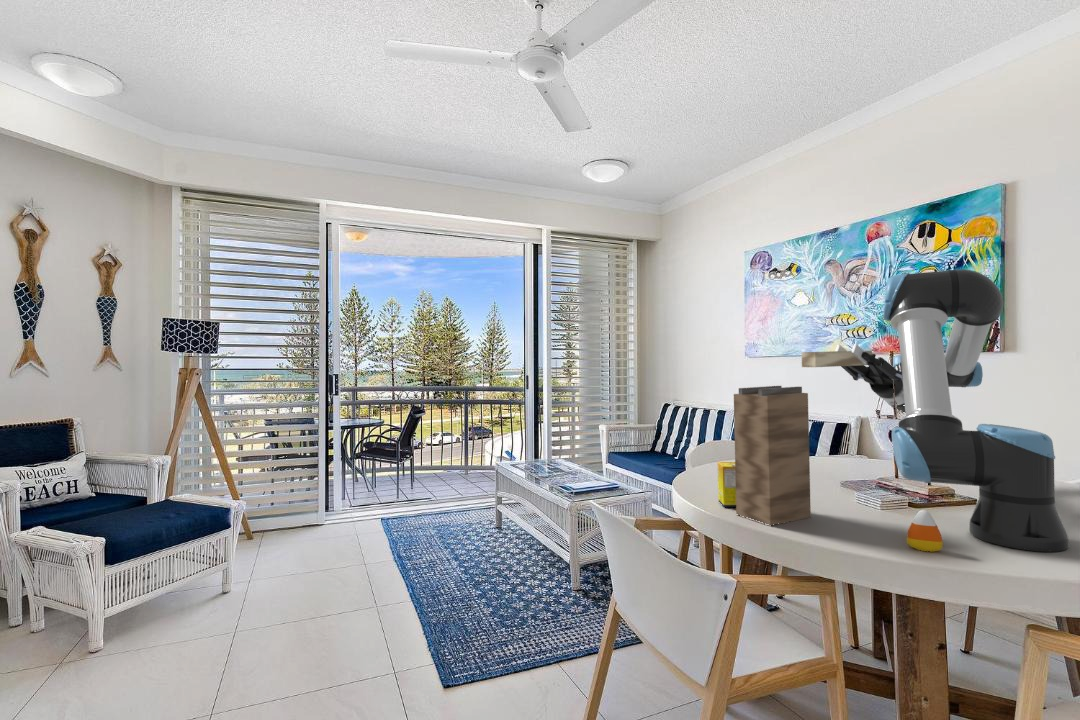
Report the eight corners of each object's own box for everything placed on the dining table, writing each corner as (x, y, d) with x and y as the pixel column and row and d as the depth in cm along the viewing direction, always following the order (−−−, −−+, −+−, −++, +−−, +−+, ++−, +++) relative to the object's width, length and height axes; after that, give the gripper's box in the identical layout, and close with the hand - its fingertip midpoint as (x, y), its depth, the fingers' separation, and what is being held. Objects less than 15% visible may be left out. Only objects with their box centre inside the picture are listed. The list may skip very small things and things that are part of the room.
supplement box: (740, 501, 141) (739, 461, 141) (747, 508, 135) (746, 466, 135) (717, 501, 142) (717, 461, 142) (723, 508, 136) (722, 466, 136)
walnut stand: (810, 516, 127) (807, 386, 127) (770, 526, 120) (767, 389, 120) (775, 506, 136) (772, 385, 136) (736, 515, 129) (733, 387, 129)
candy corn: (941, 549, 104) (940, 509, 104) (945, 554, 102) (944, 513, 102) (905, 545, 107) (904, 506, 107) (907, 550, 104) (907, 510, 104)
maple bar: (872, 364, 146) (872, 350, 146) (815, 367, 136) (815, 351, 136) (858, 364, 150) (857, 350, 150) (801, 367, 139) (801, 352, 139)
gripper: (918, 400, 145) (872, 360, 136) (857, 397, 160) (812, 360, 151) (925, 376, 146) (880, 335, 137) (864, 375, 162) (820, 338, 153)
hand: (845, 348), depth 144 cm, fingers closed on maple bar, 4 cm apart
